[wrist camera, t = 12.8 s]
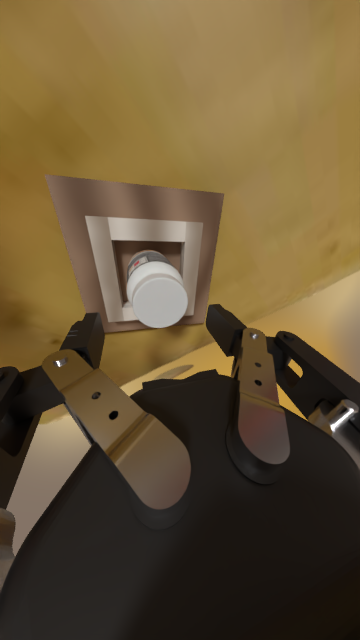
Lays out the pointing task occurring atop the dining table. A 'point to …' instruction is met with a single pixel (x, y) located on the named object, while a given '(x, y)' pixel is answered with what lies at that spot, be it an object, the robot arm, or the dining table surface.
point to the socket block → (135, 241)
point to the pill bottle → (155, 289)
